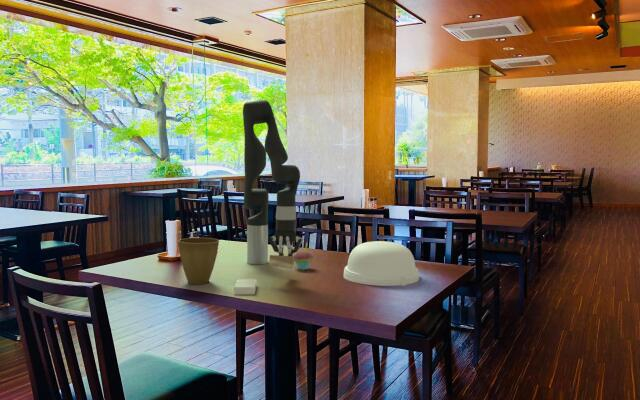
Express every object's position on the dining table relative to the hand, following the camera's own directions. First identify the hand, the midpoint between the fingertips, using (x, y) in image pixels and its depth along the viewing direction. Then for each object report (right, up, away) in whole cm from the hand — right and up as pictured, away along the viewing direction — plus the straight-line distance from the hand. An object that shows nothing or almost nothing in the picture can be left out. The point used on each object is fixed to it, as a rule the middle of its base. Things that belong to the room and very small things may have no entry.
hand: (285, 263), depth 197 cm
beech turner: (0, -2, 0) cm, 2 cm away
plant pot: (-32, -7, -2) cm, 33 cm away
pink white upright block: (-14, -6, -7) cm, 17 cm away
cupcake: (+6, -5, +25) cm, 26 cm away
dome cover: (+37, -7, +10) cm, 39 cm away
